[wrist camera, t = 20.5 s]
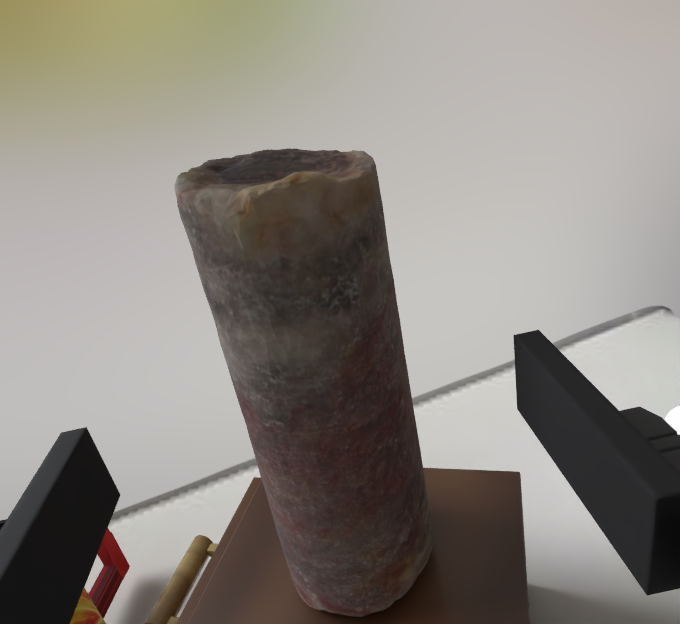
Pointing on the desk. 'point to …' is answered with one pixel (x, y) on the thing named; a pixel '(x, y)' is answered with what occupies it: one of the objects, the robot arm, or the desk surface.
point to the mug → (101, 583)
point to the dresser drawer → (196, 571)
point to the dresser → (430, 585)
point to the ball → (674, 419)
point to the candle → (316, 364)
